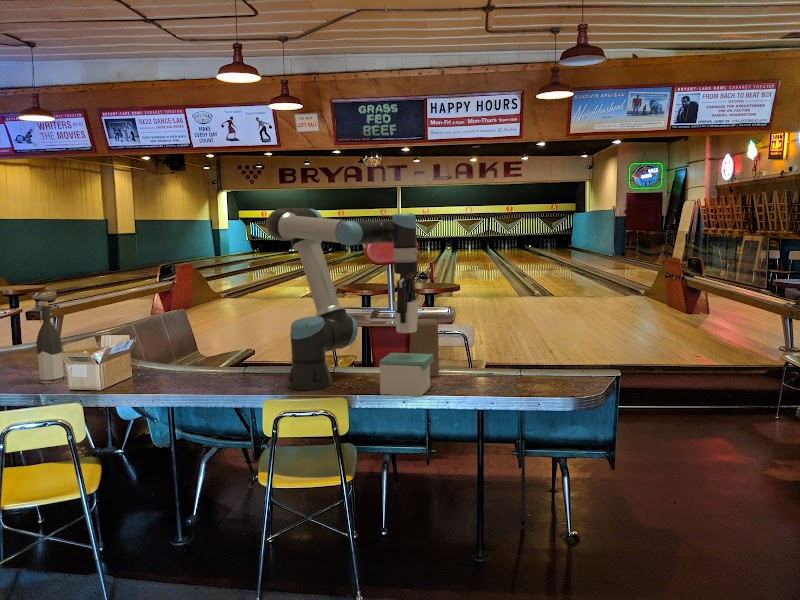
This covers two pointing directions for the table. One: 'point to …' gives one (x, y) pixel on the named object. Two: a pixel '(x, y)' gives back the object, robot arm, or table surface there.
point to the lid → (408, 359)
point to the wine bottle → (49, 349)
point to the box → (404, 379)
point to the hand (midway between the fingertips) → (407, 330)
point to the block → (426, 342)
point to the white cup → (412, 316)
